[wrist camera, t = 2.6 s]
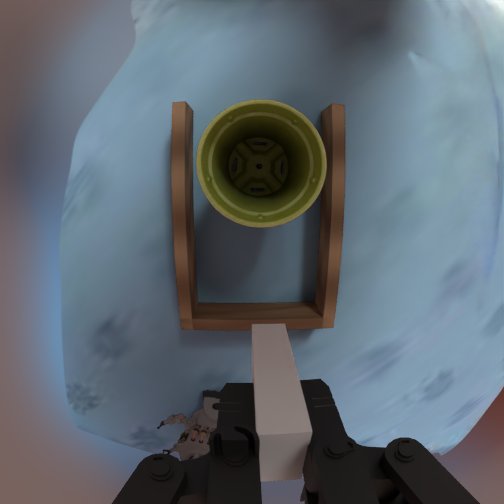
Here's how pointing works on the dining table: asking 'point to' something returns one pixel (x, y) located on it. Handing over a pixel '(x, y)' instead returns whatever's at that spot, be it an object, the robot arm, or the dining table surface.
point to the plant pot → (270, 156)
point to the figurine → (196, 428)
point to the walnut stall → (329, 240)
